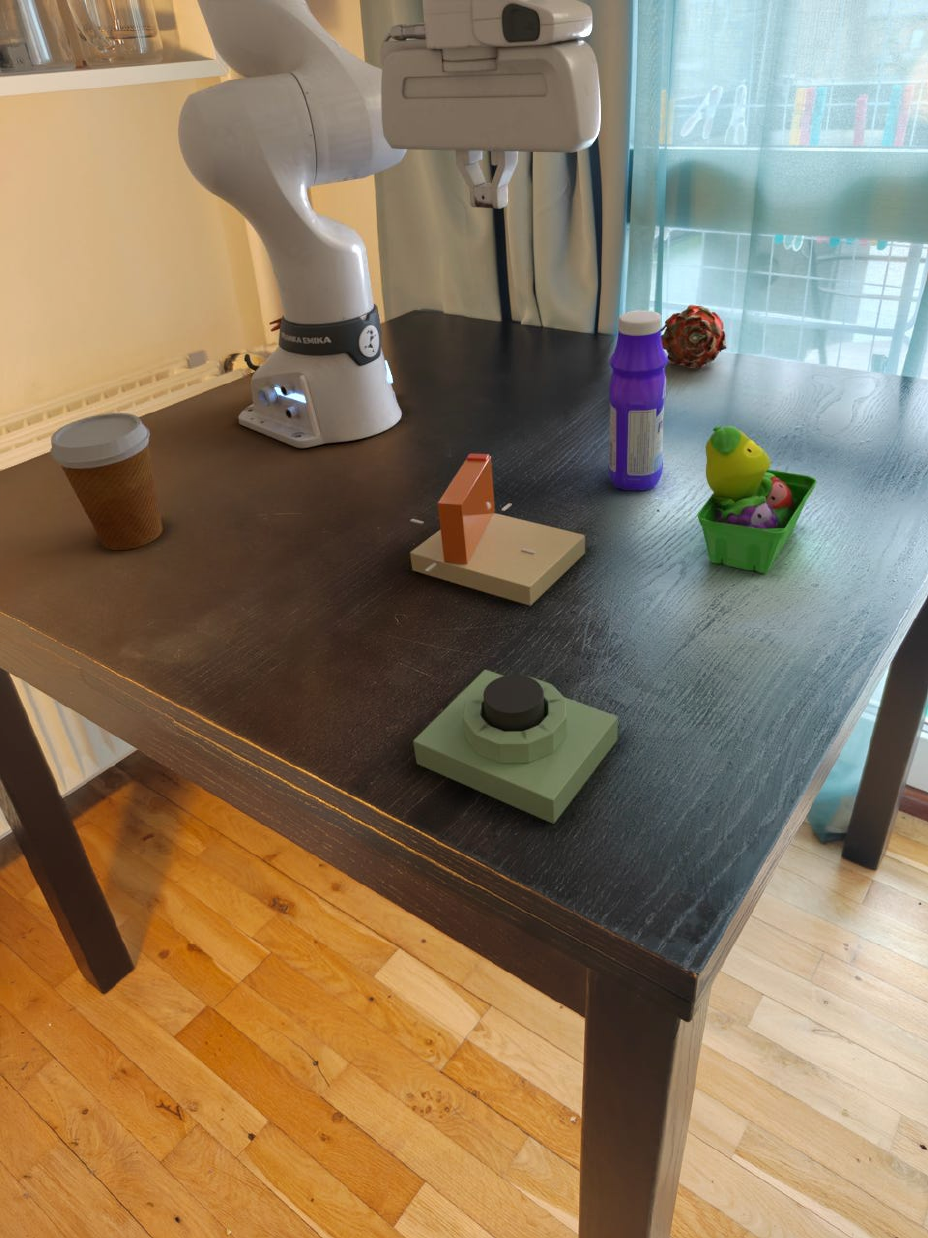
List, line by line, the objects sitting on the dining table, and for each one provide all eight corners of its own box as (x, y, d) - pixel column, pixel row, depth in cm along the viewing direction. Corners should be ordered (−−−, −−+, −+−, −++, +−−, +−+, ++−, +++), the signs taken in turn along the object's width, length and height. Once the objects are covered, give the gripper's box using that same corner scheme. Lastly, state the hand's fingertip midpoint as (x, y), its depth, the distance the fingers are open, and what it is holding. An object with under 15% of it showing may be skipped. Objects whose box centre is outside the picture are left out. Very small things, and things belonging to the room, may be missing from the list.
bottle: (661, 495, 90) (670, 325, 80) (606, 494, 92) (607, 327, 82) (662, 465, 96) (670, 303, 86) (610, 464, 97) (612, 305, 87)
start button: (473, 720, 59) (471, 700, 58) (505, 687, 61) (504, 667, 60) (524, 740, 57) (523, 720, 56) (555, 705, 59) (554, 685, 58)
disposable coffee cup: (93, 568, 88) (51, 458, 81) (80, 530, 95) (41, 426, 88) (186, 540, 91) (154, 432, 84) (168, 506, 98) (136, 403, 91)
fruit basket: (776, 585, 75) (793, 464, 69) (677, 563, 79) (685, 447, 73) (811, 526, 83) (829, 412, 76) (719, 509, 87) (729, 400, 81)
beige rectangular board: (368, 572, 83) (365, 552, 82) (454, 508, 92) (452, 489, 91) (517, 618, 74) (516, 597, 73) (595, 543, 84) (595, 523, 82)
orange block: (467, 564, 78) (461, 501, 75) (444, 562, 79) (437, 500, 75) (495, 511, 86) (490, 453, 83) (473, 510, 87) (468, 452, 83)
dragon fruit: (705, 391, 117) (668, 376, 128) (754, 344, 116) (712, 333, 126) (669, 344, 113) (634, 332, 124) (719, 295, 112) (679, 288, 123)
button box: (416, 764, 61) (409, 720, 59) (486, 691, 67) (483, 649, 64) (553, 824, 55) (552, 779, 53) (617, 739, 61) (618, 695, 59)
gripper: (354, 28, 73) (376, 208, 81) (571, 13, 62) (571, 220, 71) (401, 22, 77) (418, 194, 85) (611, 7, 67) (607, 204, 75)
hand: (489, 206), depth 78 cm, fingers closed
